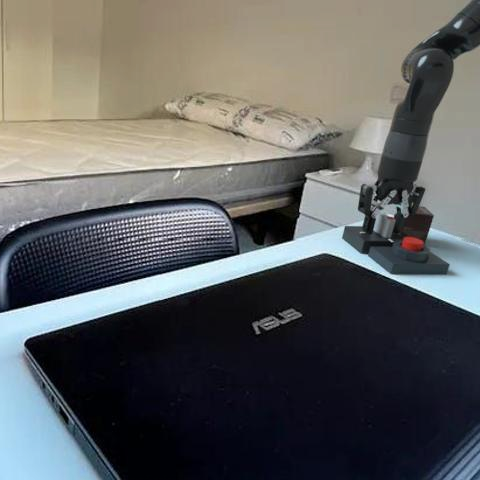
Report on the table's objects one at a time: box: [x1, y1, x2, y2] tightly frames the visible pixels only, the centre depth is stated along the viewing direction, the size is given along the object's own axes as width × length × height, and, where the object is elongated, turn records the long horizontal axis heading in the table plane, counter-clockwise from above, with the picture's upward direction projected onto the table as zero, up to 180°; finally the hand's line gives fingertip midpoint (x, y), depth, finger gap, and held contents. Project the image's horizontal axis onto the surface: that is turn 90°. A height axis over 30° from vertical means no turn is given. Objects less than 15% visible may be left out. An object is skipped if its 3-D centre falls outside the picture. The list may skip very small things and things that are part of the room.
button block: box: [367, 240, 451, 275], centre depth 98 cm, size 12×8×4 cm, turn 99°
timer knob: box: [373, 211, 396, 238], centre depth 105 cm, size 5×1×4 cm, turn 14°
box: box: [394, 204, 435, 246], centre depth 110 cm, size 6×6×7 cm
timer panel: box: [341, 225, 409, 255], centre depth 106 cm, size 12×9×3 cm
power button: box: [402, 237, 424, 251], centre depth 97 cm, size 4×4×2 cm
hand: (381, 232), depth 106 cm, fingers closed on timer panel, 6 cm apart
